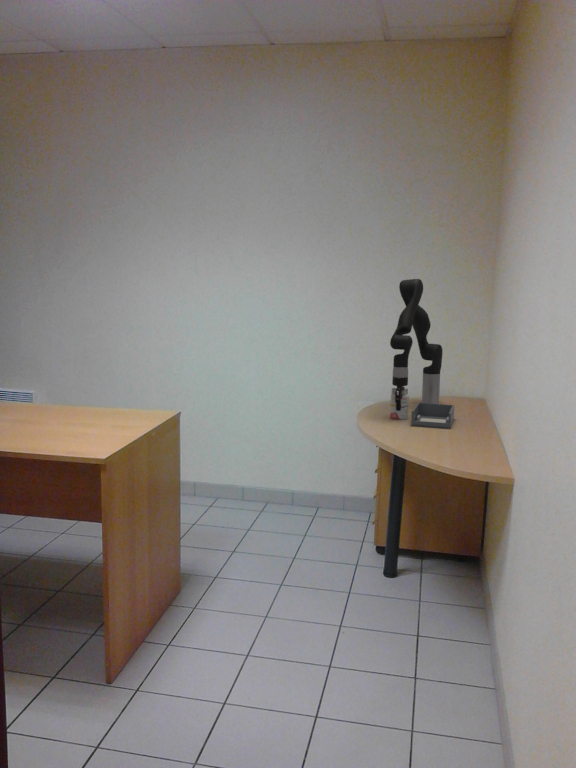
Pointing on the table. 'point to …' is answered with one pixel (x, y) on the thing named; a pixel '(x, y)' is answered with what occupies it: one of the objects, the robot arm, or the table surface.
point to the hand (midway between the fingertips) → (399, 409)
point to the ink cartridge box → (404, 406)
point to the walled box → (432, 415)
